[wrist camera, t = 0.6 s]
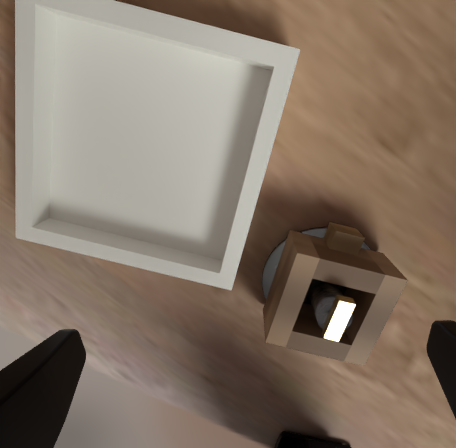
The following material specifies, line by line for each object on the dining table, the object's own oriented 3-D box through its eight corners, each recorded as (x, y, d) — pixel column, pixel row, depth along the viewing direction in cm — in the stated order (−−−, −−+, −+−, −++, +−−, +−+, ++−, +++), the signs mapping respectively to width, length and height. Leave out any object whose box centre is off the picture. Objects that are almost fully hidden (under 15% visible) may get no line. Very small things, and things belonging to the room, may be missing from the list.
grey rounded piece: (352, 337, 24) (377, 393, 19) (249, 312, 23) (249, 362, 19) (397, 243, 21) (439, 282, 16) (281, 214, 21) (290, 244, 16)
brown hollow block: (347, 329, 23) (363, 366, 20) (263, 309, 23) (265, 342, 20) (390, 237, 20) (417, 261, 17) (295, 213, 20) (304, 233, 17)
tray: (233, 272, 22) (231, 290, 20) (39, 224, 22) (15, 237, 20) (293, 56, 17) (300, 49, 15) (45, -9, 17) (15, -26, 15)
